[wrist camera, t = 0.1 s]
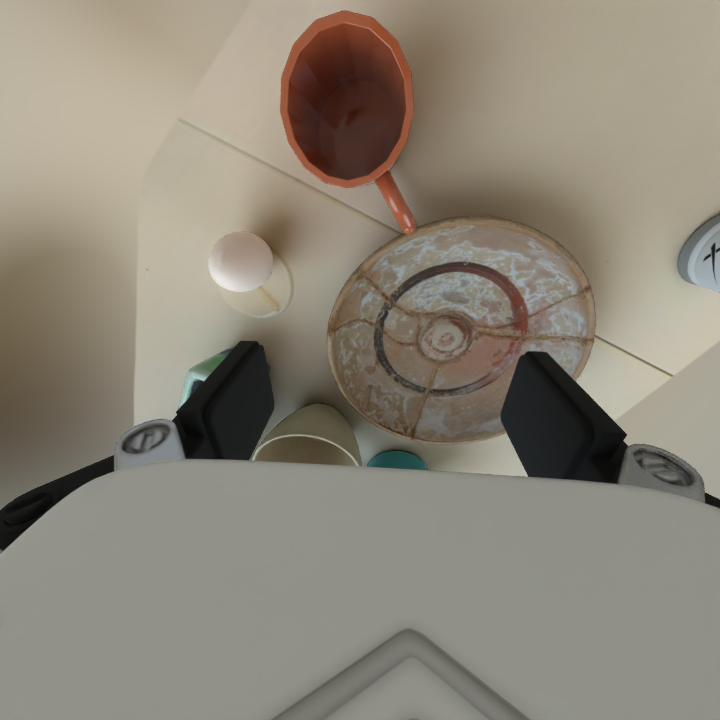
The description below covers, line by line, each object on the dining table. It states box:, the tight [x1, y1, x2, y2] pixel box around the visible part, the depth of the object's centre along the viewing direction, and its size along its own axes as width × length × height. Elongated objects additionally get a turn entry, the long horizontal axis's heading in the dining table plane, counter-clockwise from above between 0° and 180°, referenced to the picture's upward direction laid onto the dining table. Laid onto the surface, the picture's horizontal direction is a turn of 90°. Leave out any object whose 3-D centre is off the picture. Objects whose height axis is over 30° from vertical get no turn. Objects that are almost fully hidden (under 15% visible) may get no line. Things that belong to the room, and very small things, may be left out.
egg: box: [208, 232, 274, 292], centre depth 25 cm, size 5×5×7 cm
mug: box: [280, 11, 417, 234], centre depth 19 cm, size 11×7×9 cm, turn 34°
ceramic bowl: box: [327, 216, 596, 444], centre depth 29 cm, size 23×24×5 cm
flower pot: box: [252, 404, 362, 467], centre depth 35 cm, size 12×12×9 cm
